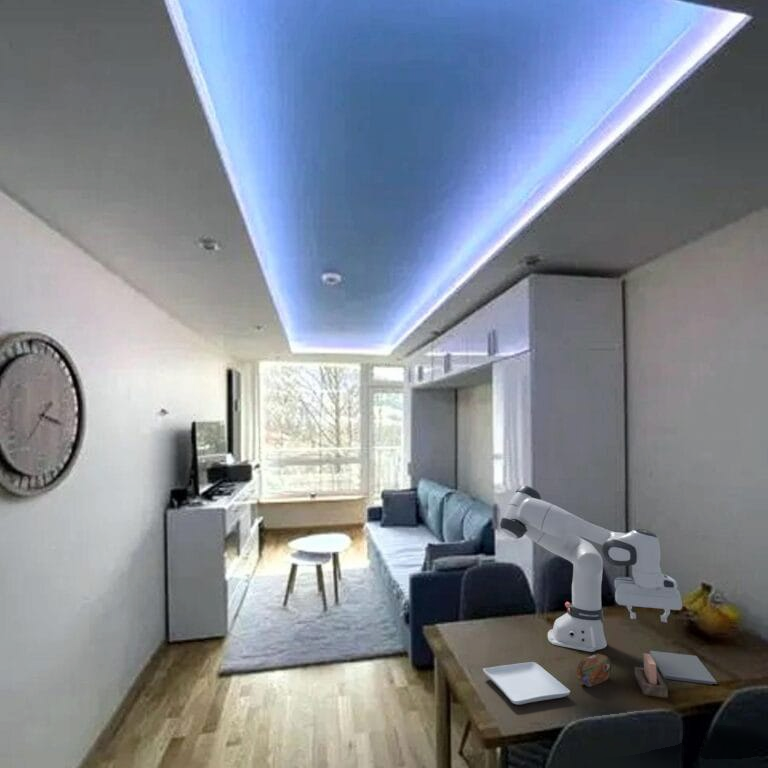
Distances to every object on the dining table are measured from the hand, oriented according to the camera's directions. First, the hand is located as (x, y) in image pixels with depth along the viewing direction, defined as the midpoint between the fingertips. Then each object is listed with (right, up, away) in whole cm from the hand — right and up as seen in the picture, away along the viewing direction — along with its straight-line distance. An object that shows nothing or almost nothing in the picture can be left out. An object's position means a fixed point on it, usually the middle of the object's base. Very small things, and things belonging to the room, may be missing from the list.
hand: (648, 620), depth 170 cm
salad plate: (-43, -22, -4) cm, 48 cm away
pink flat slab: (0, -22, -2) cm, 22 cm away
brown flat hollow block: (0, -22, -2) cm, 22 cm away
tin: (-18, -22, +1) cm, 28 cm away
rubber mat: (+18, -23, +11) cm, 31 cm away
